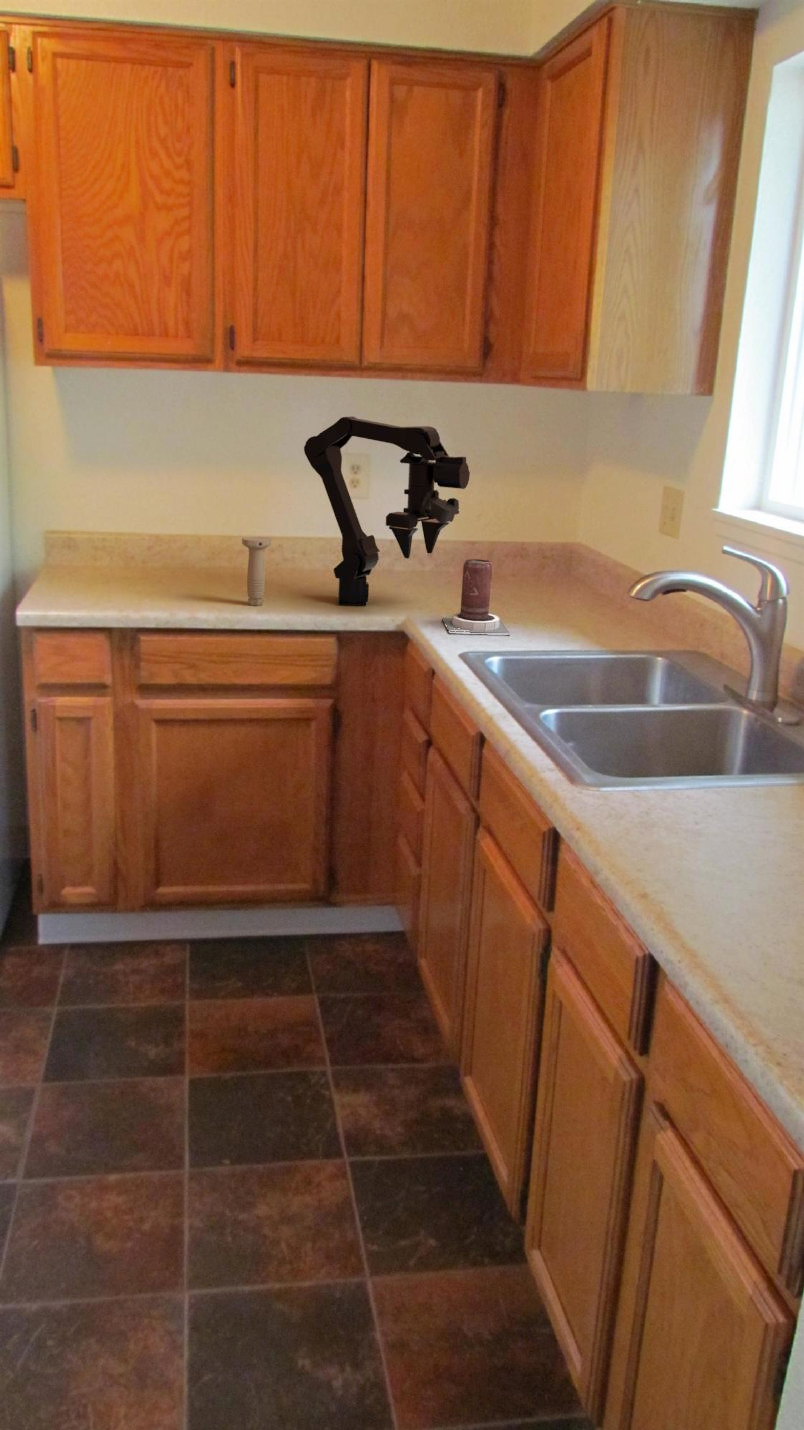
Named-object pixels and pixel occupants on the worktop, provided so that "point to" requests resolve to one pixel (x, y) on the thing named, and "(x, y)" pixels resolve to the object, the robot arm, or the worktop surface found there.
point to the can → (476, 590)
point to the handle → (256, 568)
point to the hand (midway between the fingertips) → (418, 555)
